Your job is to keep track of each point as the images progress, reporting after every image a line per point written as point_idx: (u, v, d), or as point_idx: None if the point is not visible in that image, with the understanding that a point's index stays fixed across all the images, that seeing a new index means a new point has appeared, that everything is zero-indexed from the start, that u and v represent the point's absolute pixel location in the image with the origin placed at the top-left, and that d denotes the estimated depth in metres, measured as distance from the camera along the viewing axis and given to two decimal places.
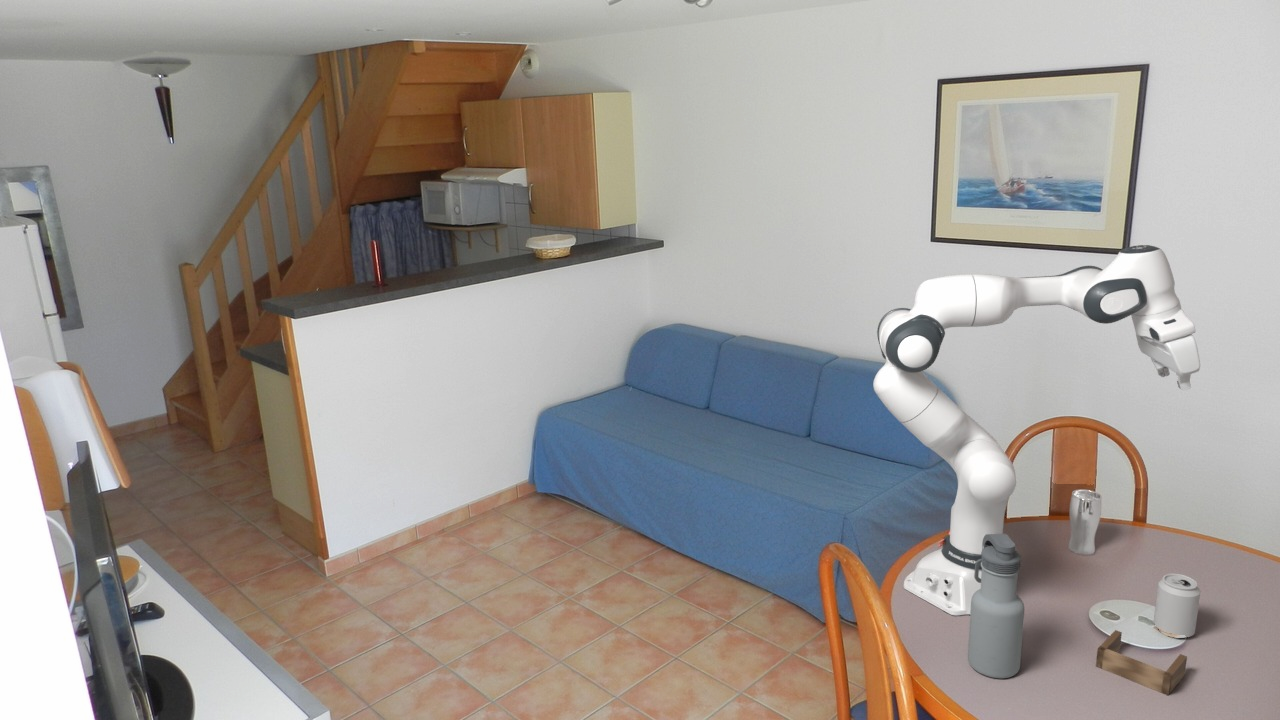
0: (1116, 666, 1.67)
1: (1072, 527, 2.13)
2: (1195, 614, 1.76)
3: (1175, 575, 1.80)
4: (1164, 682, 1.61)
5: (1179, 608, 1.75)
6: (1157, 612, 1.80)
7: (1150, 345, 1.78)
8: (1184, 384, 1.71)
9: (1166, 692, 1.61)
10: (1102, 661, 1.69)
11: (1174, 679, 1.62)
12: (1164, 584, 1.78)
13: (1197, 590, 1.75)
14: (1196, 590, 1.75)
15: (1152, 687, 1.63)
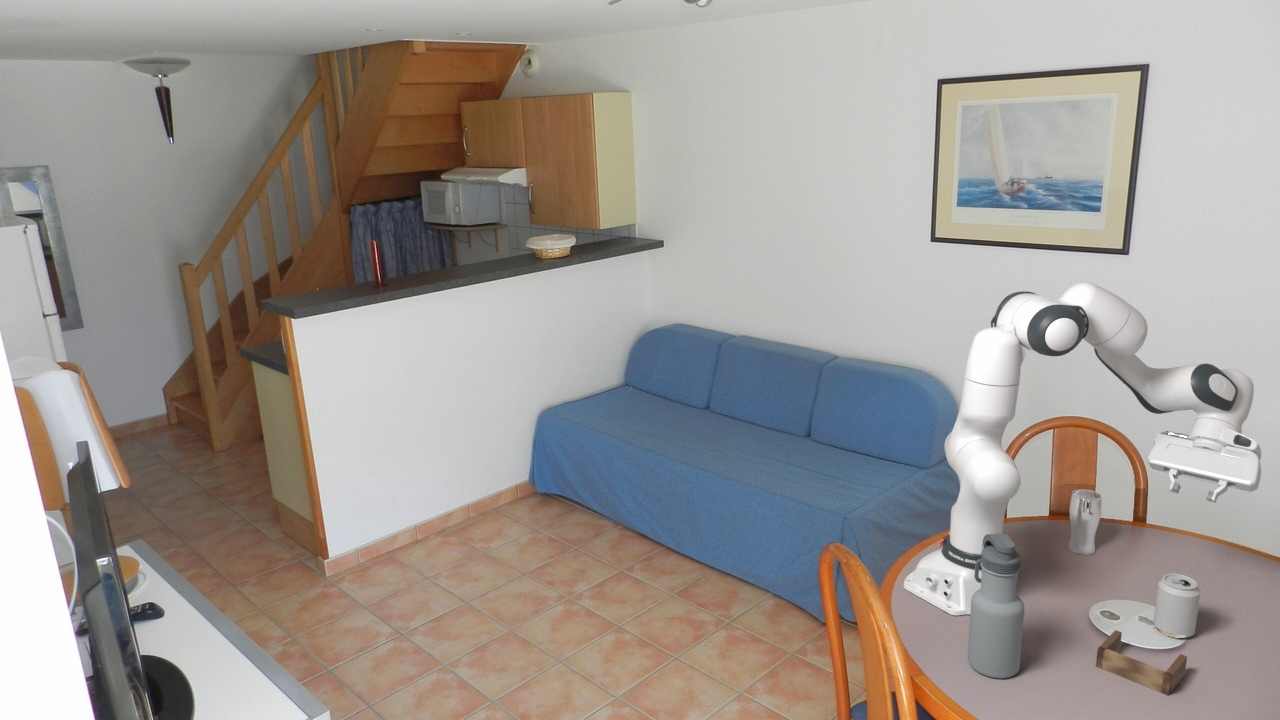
0: (1116, 666, 1.67)
1: (1072, 527, 2.13)
2: (1195, 614, 1.76)
3: (1175, 575, 1.80)
4: (1164, 682, 1.61)
5: (1179, 608, 1.75)
6: (1157, 612, 1.80)
7: (1189, 455, 1.83)
8: (1216, 496, 1.77)
9: (1166, 692, 1.61)
10: (1102, 661, 1.69)
11: (1174, 679, 1.62)
12: (1164, 584, 1.78)
13: (1197, 590, 1.75)
14: (1196, 590, 1.75)
15: (1152, 687, 1.63)
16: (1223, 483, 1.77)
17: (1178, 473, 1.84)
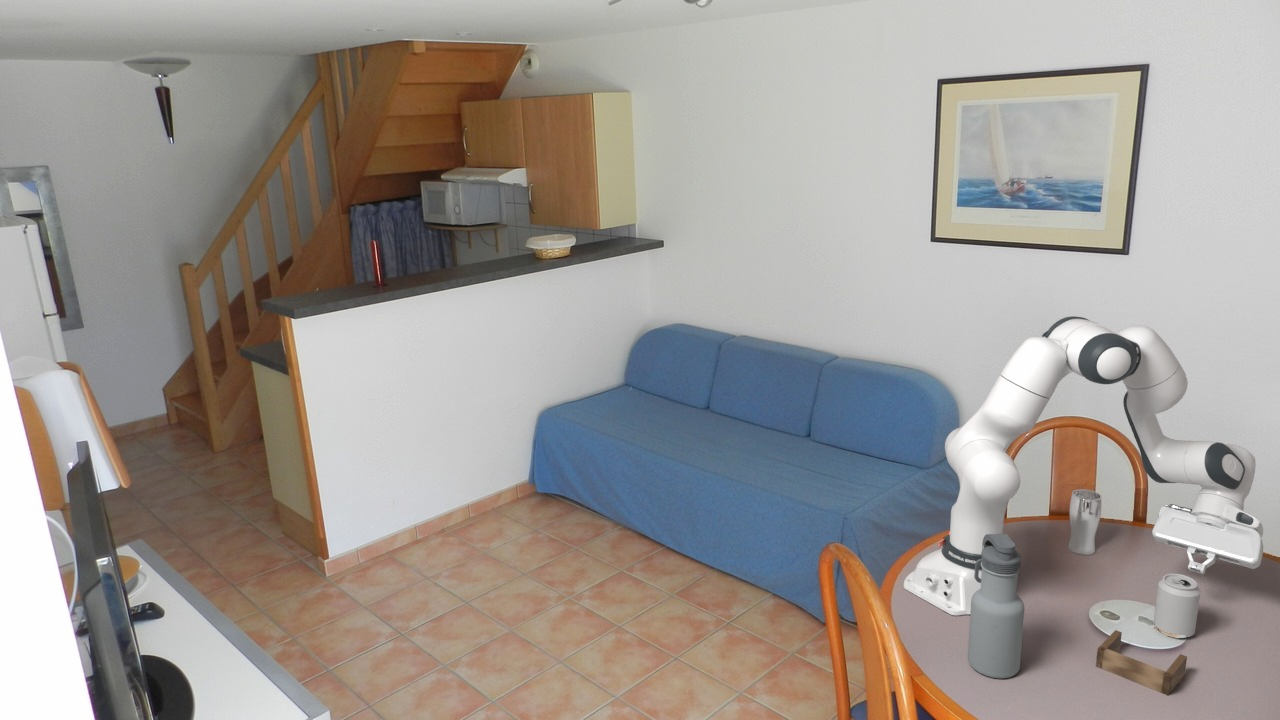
0: (1116, 666, 1.67)
1: (1072, 527, 2.13)
2: (1195, 614, 1.76)
3: (1175, 575, 1.80)
4: (1164, 682, 1.61)
5: (1179, 608, 1.75)
6: (1157, 612, 1.80)
7: (1193, 531, 1.87)
8: (1205, 568, 1.83)
9: (1166, 692, 1.61)
10: (1102, 661, 1.69)
11: (1174, 679, 1.62)
12: (1164, 584, 1.78)
13: (1197, 590, 1.75)
14: (1196, 590, 1.75)
15: (1152, 687, 1.63)
16: (1211, 556, 1.83)
17: (1196, 551, 1.87)
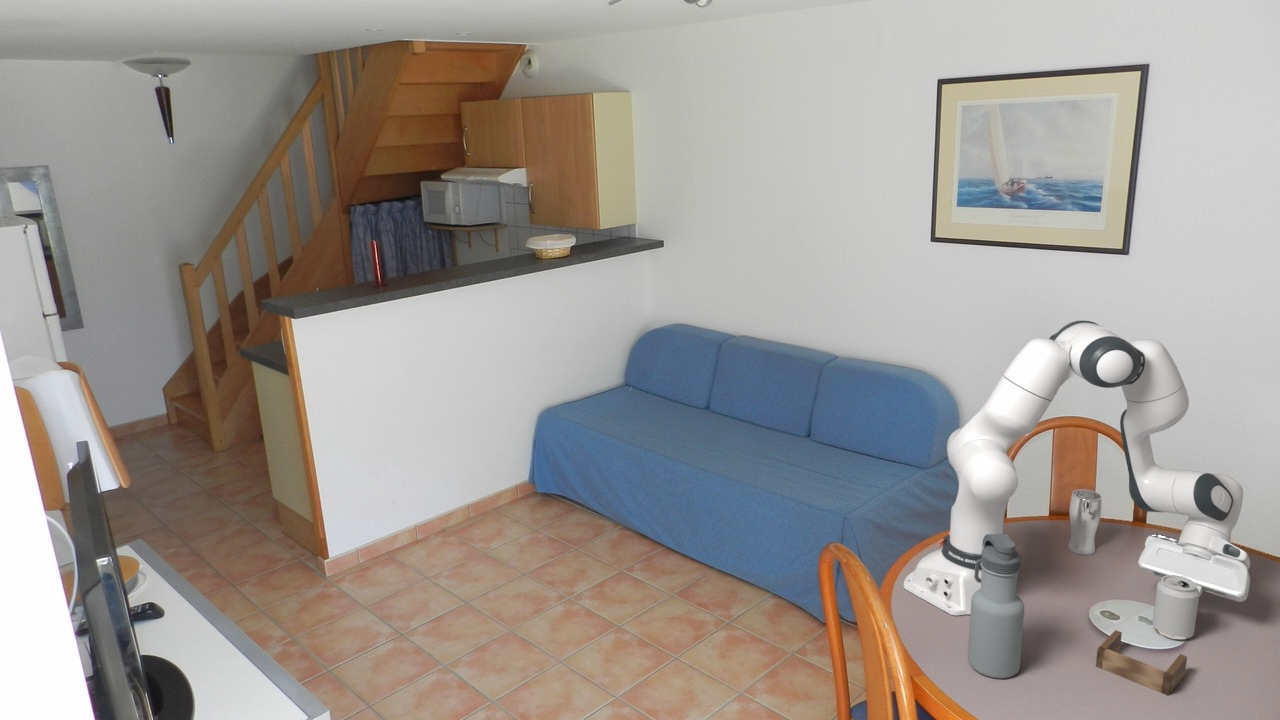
0: (1116, 666, 1.67)
1: (1072, 527, 2.13)
2: (1194, 615, 1.75)
3: (1174, 576, 1.79)
4: (1164, 682, 1.61)
5: (1178, 610, 1.75)
6: (1156, 613, 1.79)
7: (1179, 562, 1.84)
8: None
9: (1166, 692, 1.61)
10: (1102, 661, 1.69)
11: (1174, 679, 1.62)
12: (1163, 585, 1.77)
13: (1196, 591, 1.75)
14: (1195, 591, 1.75)
15: (1152, 687, 1.63)
16: (1197, 588, 1.80)
17: None
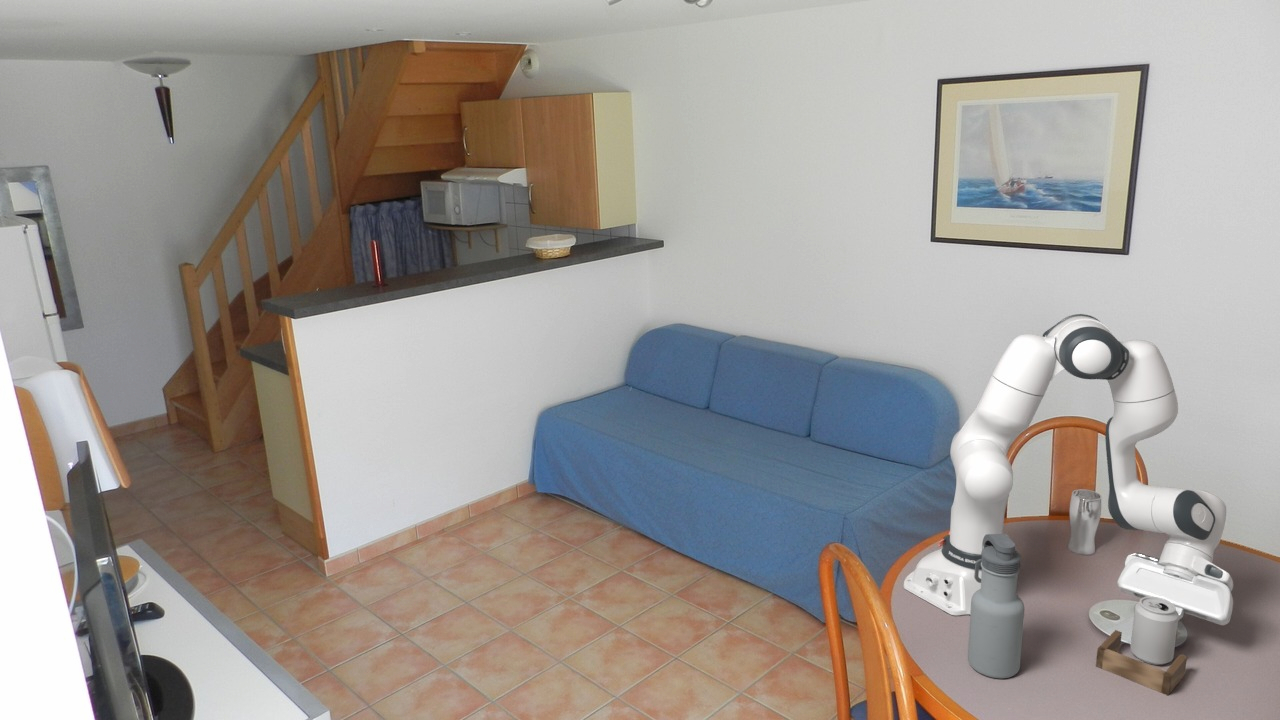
0: (1116, 666, 1.67)
1: (1072, 527, 2.13)
2: (1172, 640, 1.68)
3: (1154, 598, 1.72)
4: (1164, 682, 1.61)
5: (1154, 633, 1.68)
6: (1133, 636, 1.72)
7: (1160, 582, 1.77)
8: None
9: (1166, 692, 1.61)
10: (1102, 661, 1.69)
11: (1174, 679, 1.62)
12: (1140, 607, 1.70)
13: (1174, 615, 1.67)
14: (1173, 615, 1.67)
15: (1152, 687, 1.63)
16: (1178, 610, 1.73)
17: None
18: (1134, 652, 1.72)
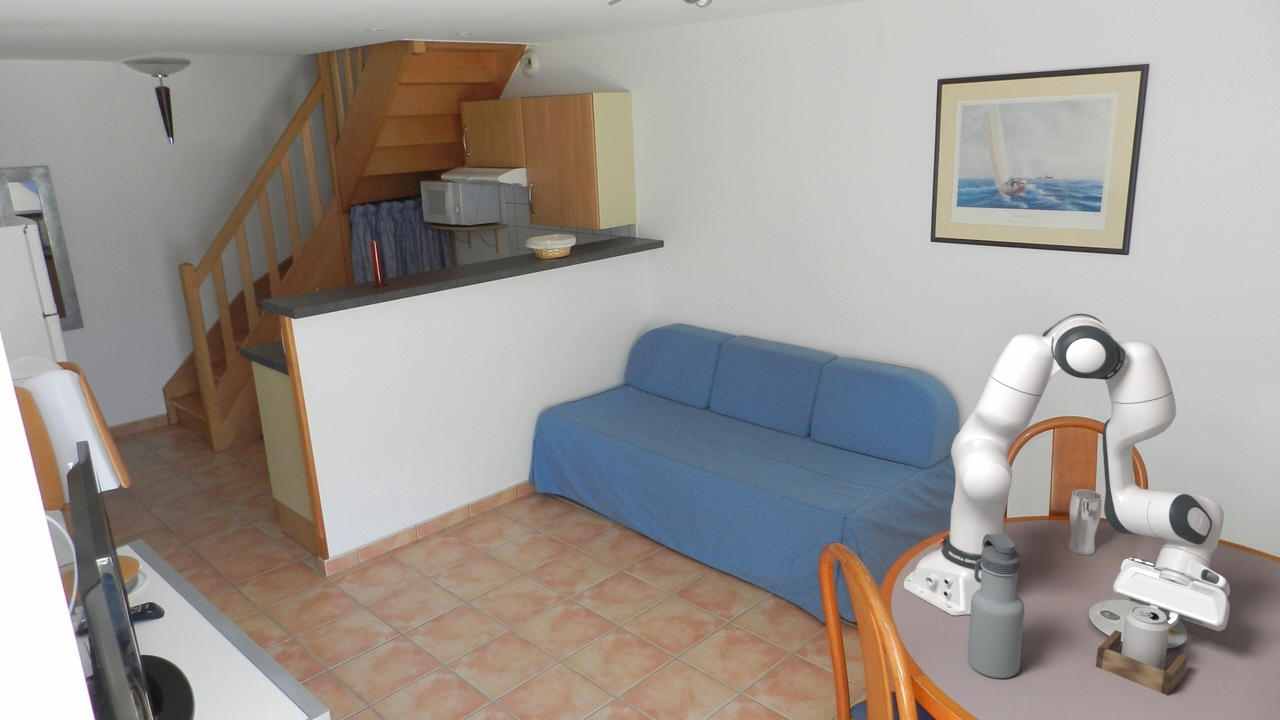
0: (1116, 666, 1.67)
1: (1072, 527, 2.13)
2: (1162, 650, 1.65)
3: (1146, 607, 1.69)
4: (1164, 682, 1.61)
5: (1143, 642, 1.65)
6: (1123, 644, 1.70)
7: (1155, 587, 1.75)
8: None
9: (1166, 692, 1.61)
10: (1102, 661, 1.69)
11: (1174, 679, 1.62)
12: (1130, 615, 1.68)
13: (1165, 625, 1.64)
14: (1163, 625, 1.64)
15: (1152, 687, 1.63)
16: (1174, 615, 1.71)
17: None
18: None
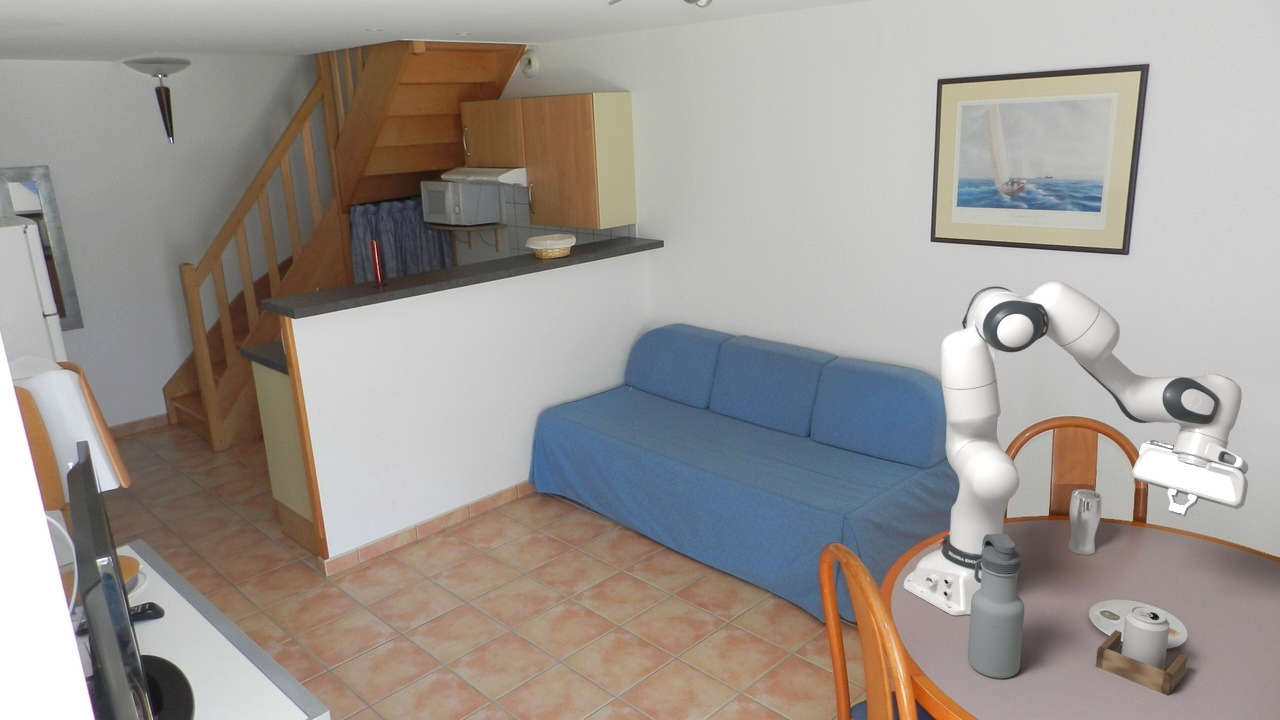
0: (1116, 666, 1.67)
1: (1072, 527, 2.13)
2: (1162, 650, 1.65)
3: (1146, 607, 1.69)
4: (1164, 682, 1.61)
5: (1143, 642, 1.65)
6: (1123, 644, 1.70)
7: (1174, 471, 1.78)
8: (1186, 510, 1.75)
9: (1166, 692, 1.61)
10: (1102, 661, 1.69)
11: (1174, 679, 1.62)
12: (1130, 615, 1.68)
13: (1165, 625, 1.64)
14: (1163, 625, 1.64)
15: (1152, 687, 1.63)
16: (1192, 497, 1.74)
17: (1177, 492, 1.78)
18: None
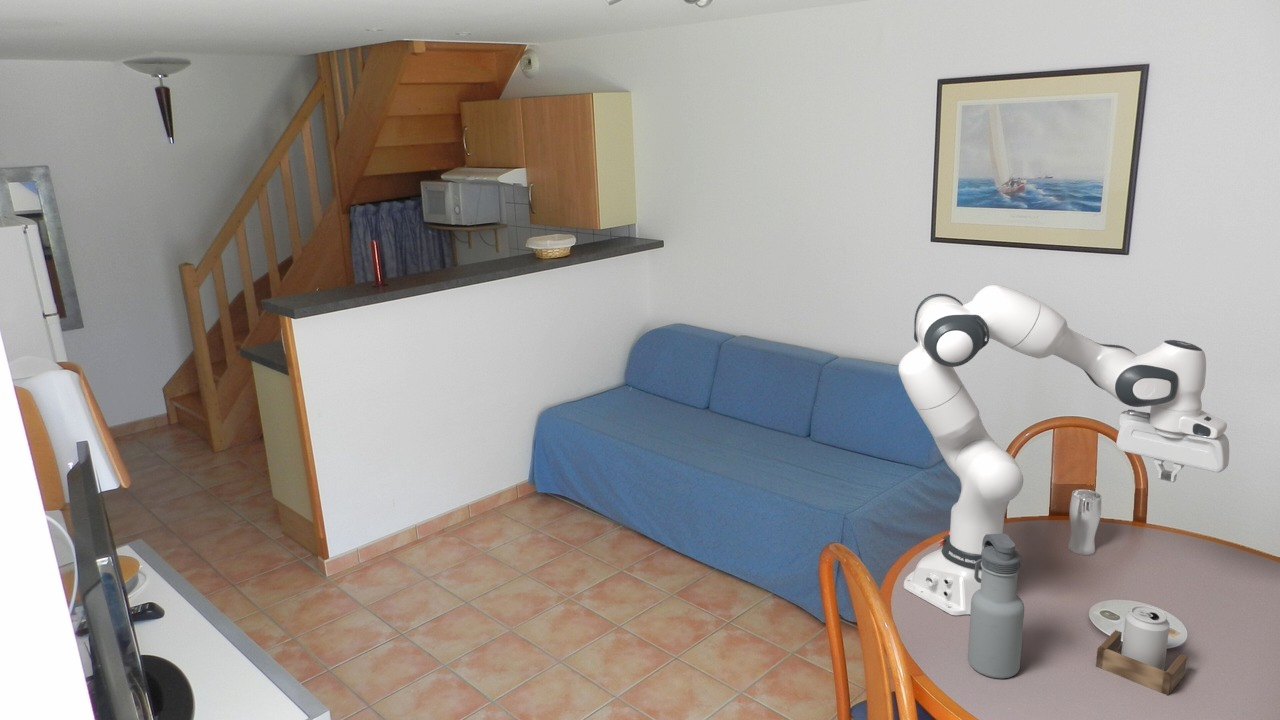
0: (1116, 666, 1.67)
1: (1072, 527, 2.13)
2: (1162, 650, 1.65)
3: (1146, 607, 1.69)
4: (1164, 682, 1.61)
5: (1143, 642, 1.65)
6: (1123, 644, 1.70)
7: (1154, 442, 1.78)
8: (1175, 476, 1.78)
9: (1166, 692, 1.61)
10: (1102, 661, 1.69)
11: (1174, 679, 1.62)
12: (1130, 615, 1.68)
13: (1165, 625, 1.64)
14: (1163, 625, 1.64)
15: (1152, 687, 1.63)
16: (1178, 465, 1.77)
17: None
18: None
